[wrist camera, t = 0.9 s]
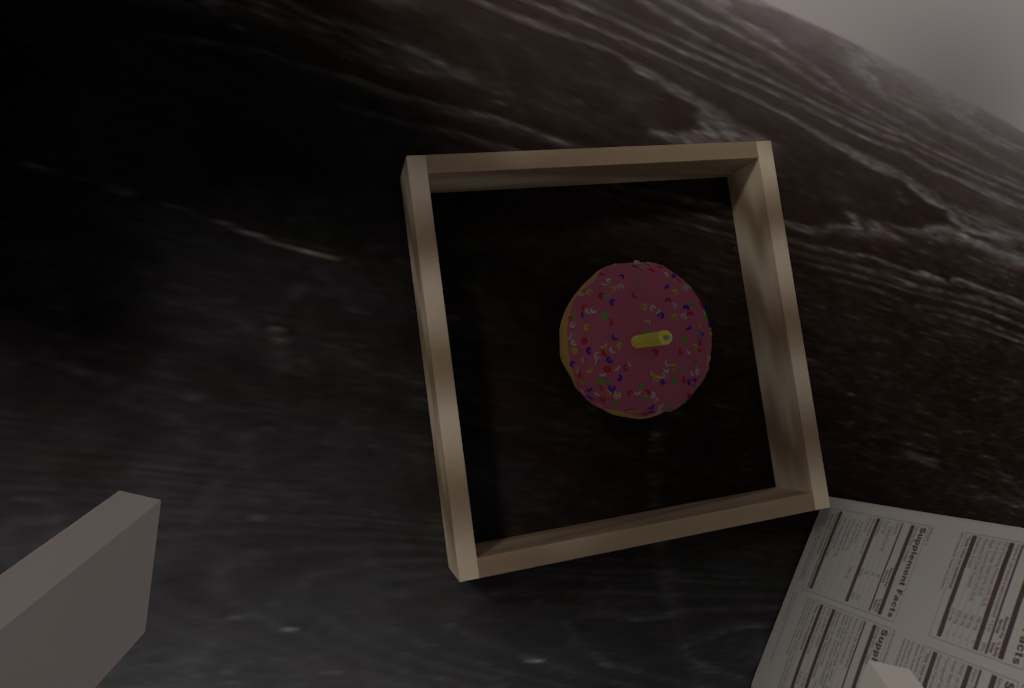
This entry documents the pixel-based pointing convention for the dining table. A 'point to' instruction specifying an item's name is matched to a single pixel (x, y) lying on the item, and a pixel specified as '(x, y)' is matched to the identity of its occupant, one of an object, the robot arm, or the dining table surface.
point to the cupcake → (636, 340)
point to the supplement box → (901, 601)
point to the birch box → (768, 320)
